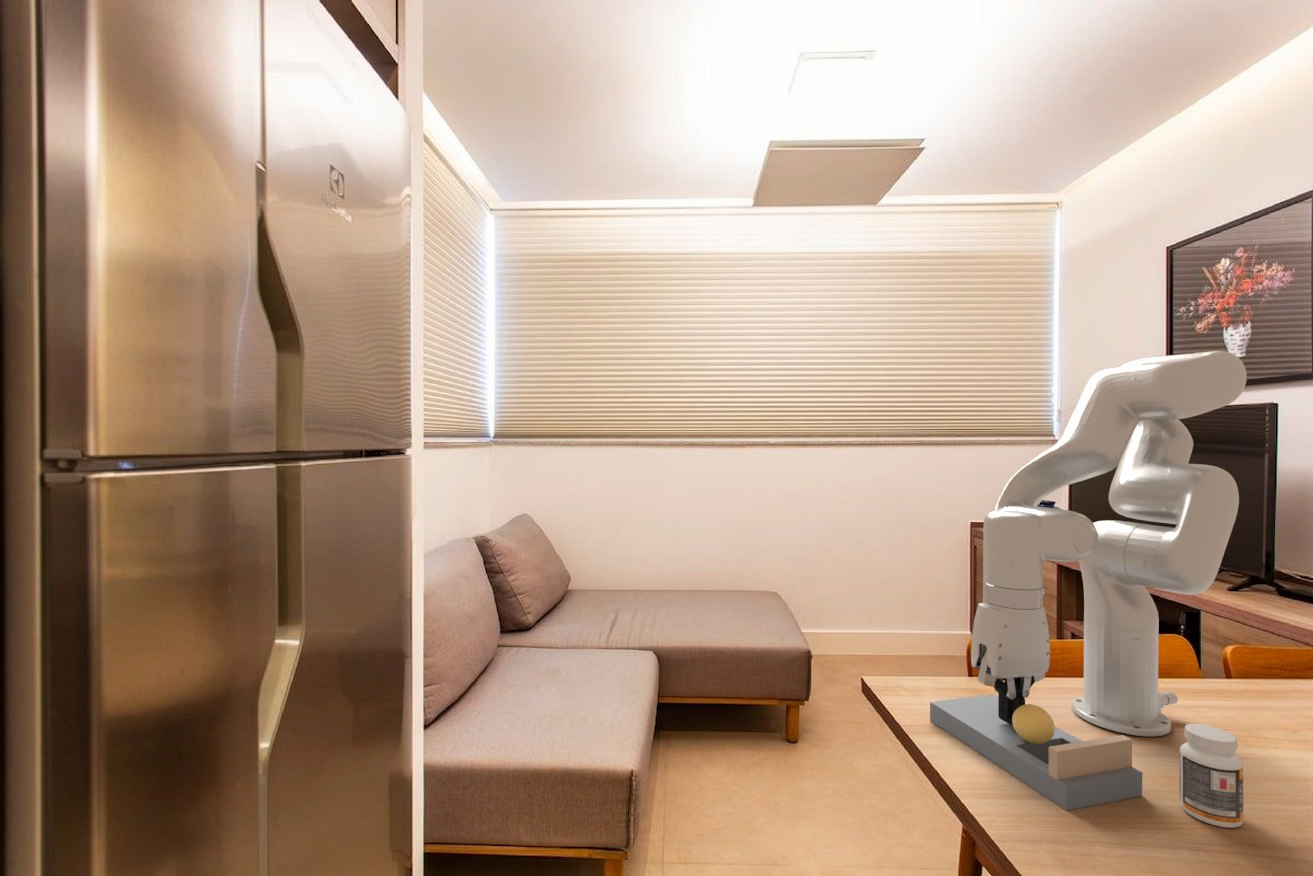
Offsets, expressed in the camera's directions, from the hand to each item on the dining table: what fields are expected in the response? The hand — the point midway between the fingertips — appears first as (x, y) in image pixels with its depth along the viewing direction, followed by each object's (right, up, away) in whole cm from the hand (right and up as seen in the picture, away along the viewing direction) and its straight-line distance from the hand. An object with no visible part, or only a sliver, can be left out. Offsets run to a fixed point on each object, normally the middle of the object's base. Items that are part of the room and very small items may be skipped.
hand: (1011, 721), depth 89 cm
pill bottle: (+15, -4, -16) cm, 22 cm away
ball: (0, +2, -5) cm, 5 cm away
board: (+1, -4, -2) cm, 4 cm away
